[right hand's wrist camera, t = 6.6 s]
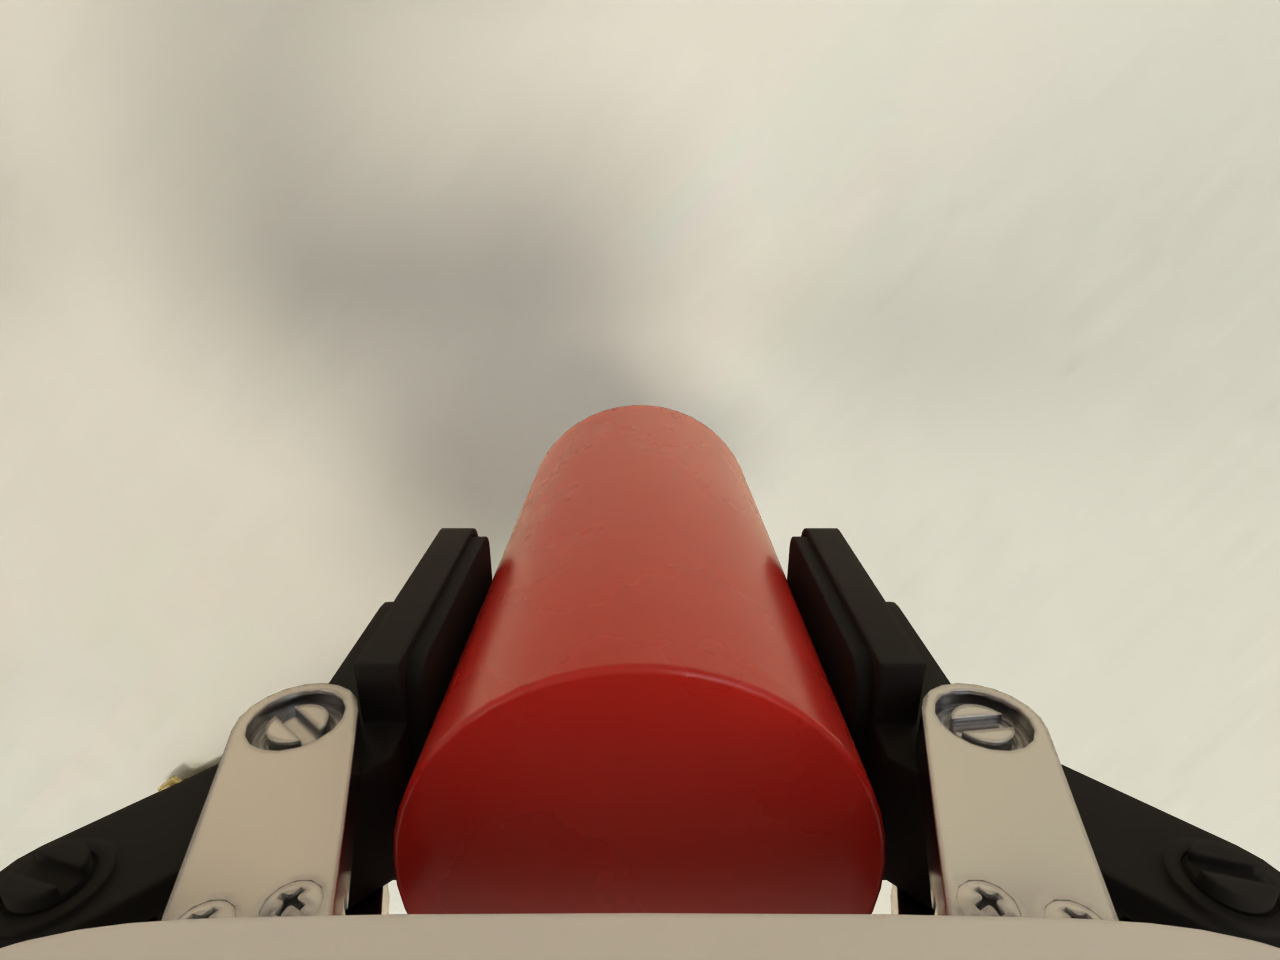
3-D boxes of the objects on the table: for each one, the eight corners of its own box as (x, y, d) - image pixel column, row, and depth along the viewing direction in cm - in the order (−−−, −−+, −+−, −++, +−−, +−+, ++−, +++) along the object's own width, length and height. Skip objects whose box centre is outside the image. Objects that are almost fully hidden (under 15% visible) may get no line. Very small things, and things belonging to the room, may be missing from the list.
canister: (772, 571, 17) (929, 985, 8) (575, 628, 17) (503, 1078, 8) (713, 374, 15) (825, 603, 6) (498, 444, 16) (301, 748, 7)
